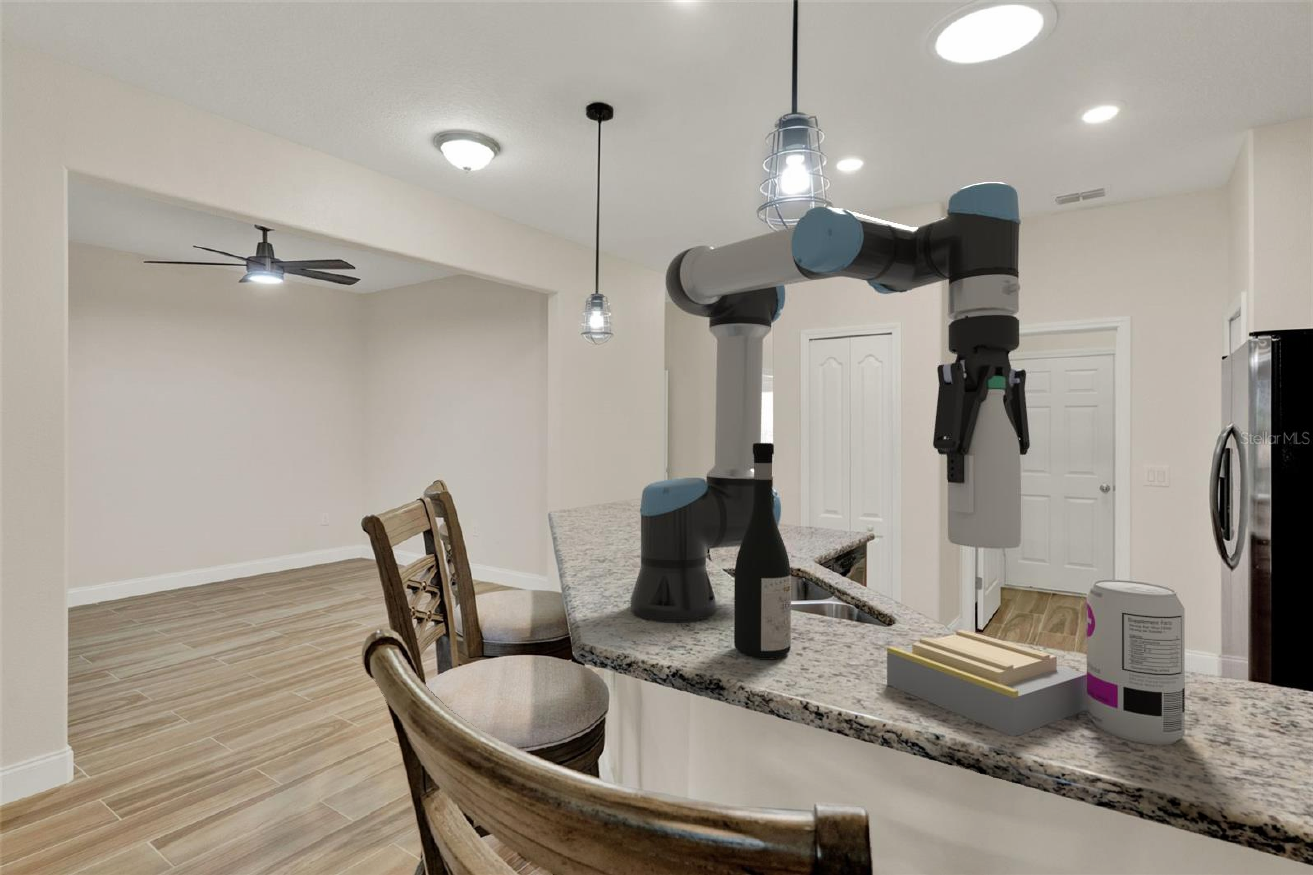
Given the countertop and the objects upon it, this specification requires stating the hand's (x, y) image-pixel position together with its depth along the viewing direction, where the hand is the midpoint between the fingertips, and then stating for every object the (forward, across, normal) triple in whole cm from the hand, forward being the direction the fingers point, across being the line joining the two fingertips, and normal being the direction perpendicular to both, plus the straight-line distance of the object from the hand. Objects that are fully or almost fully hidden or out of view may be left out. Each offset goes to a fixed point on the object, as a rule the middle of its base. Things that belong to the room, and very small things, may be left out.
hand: (983, 509), depth 75 cm
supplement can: (+22, +6, -13) cm, 27 cm away
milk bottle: (+4, 0, 0) cm, 4 cm away
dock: (+22, 0, 0) cm, 22 cm away
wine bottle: (+22, -13, +25) cm, 36 cm away
